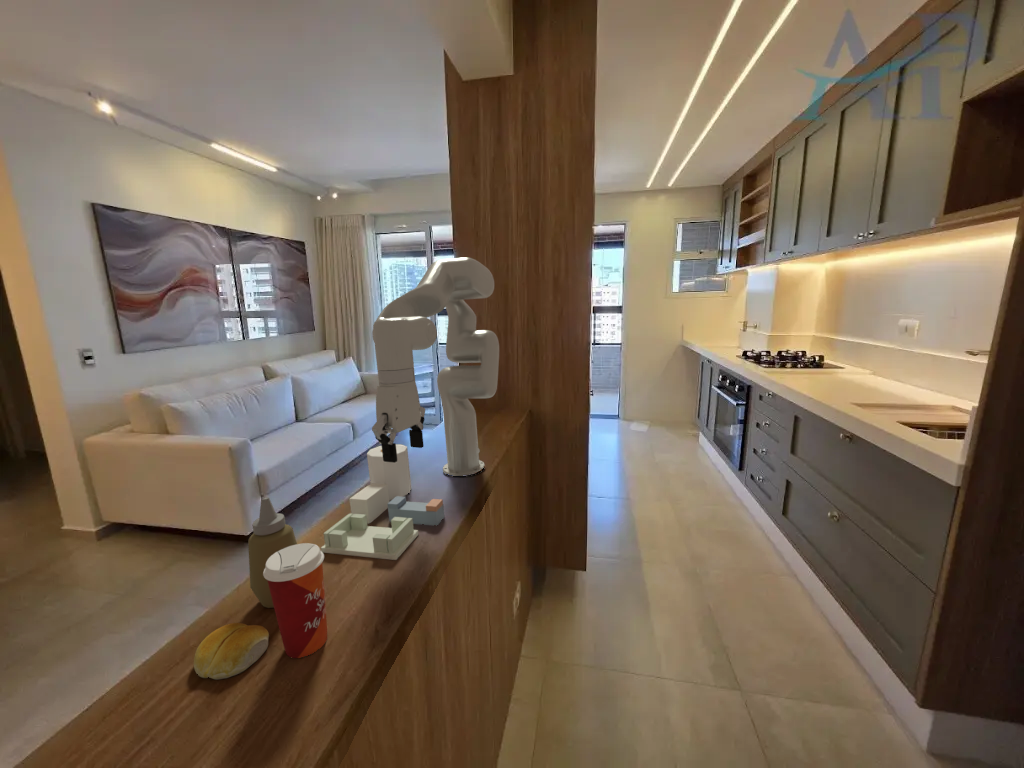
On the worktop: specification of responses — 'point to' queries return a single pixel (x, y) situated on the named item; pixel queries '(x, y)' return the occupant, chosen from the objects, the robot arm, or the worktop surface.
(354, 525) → the jig
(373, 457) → the toilet paper
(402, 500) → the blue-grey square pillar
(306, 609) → the paper cup
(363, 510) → the block
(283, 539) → the squeeze bottle
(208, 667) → the bread roll
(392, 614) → the worktop surface
